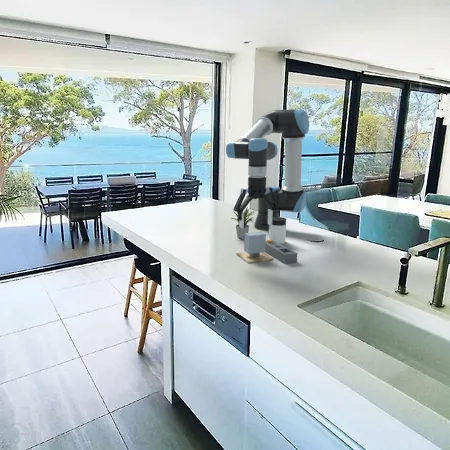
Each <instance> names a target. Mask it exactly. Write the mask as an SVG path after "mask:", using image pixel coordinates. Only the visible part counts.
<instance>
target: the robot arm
mask: <svg viewBox="0 0 450 450" xmlns="http://www.w3.org/2000/svg"><path fill="white" fill-rule="evenodd" d="M309 128H310V120H309V115H308V113H307V111H306V110H304V109H297V108H296V109H275V110H271V111H269V112H267V113H265V114H263V115H261V116H260V117H258V119H257V120H256V121H255V124H254V125H253V126H252V127H251V128H250V129H249V130H247V131H246V132H245V134H243V135H242V136H241V137H240V138H239V139H237V140H236V141H235V140H232V141H228V142H227V143H226V146H225V154H226V156H227V157H228V159H234V160H236V159H237V160H240V159H241V160H248V168H247V169H248V173H247V174H248V177H247V179H248V180H247V186H248V187H247V188H240V193H239V196H238V198H237V200H236V203H235V205H234V207H233V210H232V211H234V212H235V213H237V212H238V214H237V215H238V217H237V218H238V220H239V227H241V228H244V211H245V210H246V208H247V207H248V205H249V204H250V202H251V201H253V200H257V199H258V200H257V201H258V202H257V204H258V205H257V215H256V219H255V221H254V222H253V223H254V225H253V226H254V228H255V229H257V230H258V229H259V230H263V231H269V225H272V217H280V215H279V212H290V213H302V212H303V211H304V209H305V208H306V207H305V206H306V203H307V198H308V193H307V191H304V189H305V188H304V187H303V185H302V151H303V150H302V149H303V148H302V147H303V146H302V145H303V140H304V138H305V137H306V134H308V133H309V130H310V129H309ZM271 134H281V138H282V139H283V140H284V185H283V186H282V187H281V188H280V186H275V185H274V186H267V177H266V176H267V169H268V161H270V160H273V159H274V158H276V156H277V155H278V146H277V145H276V143H274V142H273V141H268V139H267V138H265V137H267V136H269V135H271ZM246 195H247V196H246ZM245 197H246V198H245Z"/></svg>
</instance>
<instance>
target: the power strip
mask: <svg viewBox="0 0 450 450" xmlns="http://www.w3.org/2000/svg"><path fill="white" fill-rule="evenodd" d="M264 253H265V254H267V255H268V256H270V257H272V258H273V259H276V260H277V261H279V262H280V263H283V265H284V264H285V265H287V264H292V263H293V264H294V263H295V264H296V263H298V253H297V251H294V250H292V249H290V248H289V247H286V246H285V245H283V244H279V243H278V242H276V241H272V240H269V239H266V245H265V252H264Z"/></svg>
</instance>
